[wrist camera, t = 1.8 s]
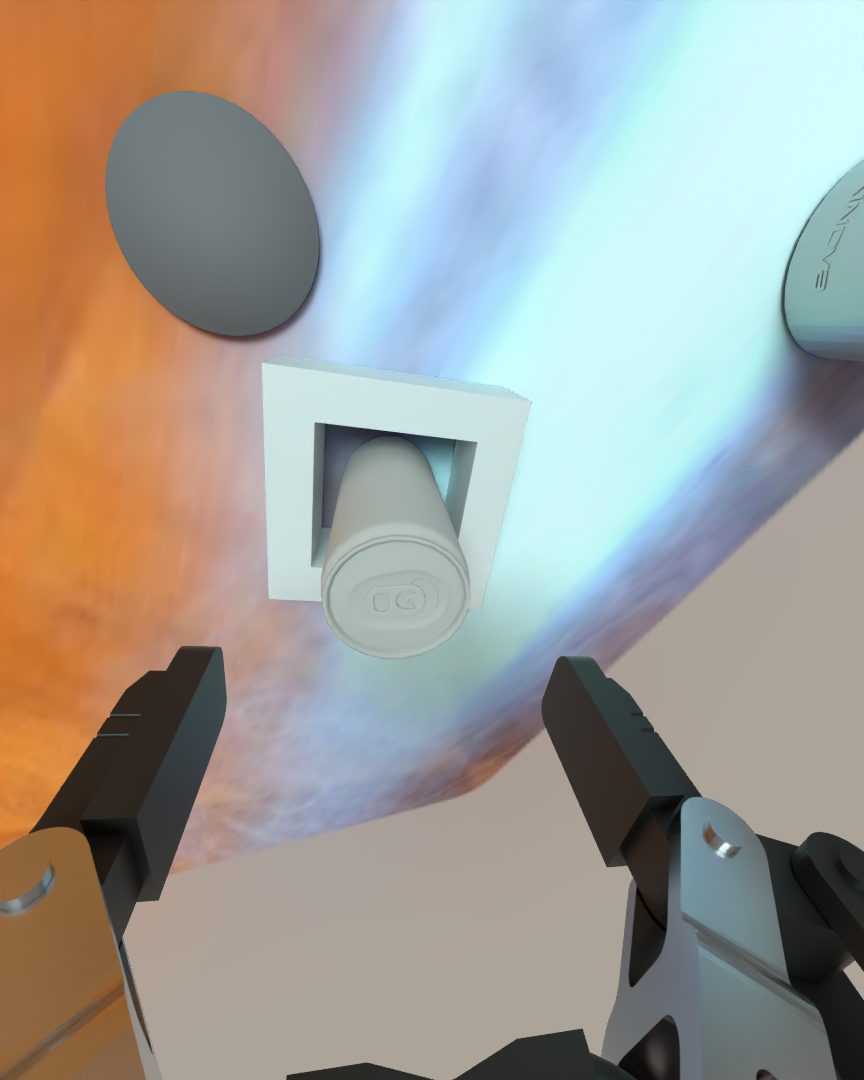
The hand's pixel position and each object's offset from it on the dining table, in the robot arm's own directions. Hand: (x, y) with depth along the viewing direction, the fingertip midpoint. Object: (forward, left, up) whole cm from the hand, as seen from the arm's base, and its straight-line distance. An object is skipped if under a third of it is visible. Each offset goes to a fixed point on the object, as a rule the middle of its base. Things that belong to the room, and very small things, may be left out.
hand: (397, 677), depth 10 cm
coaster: (+8, -10, -15) cm, 20 cm away
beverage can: (0, 0, -15) cm, 15 cm away
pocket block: (0, 0, -15) cm, 15 cm away
